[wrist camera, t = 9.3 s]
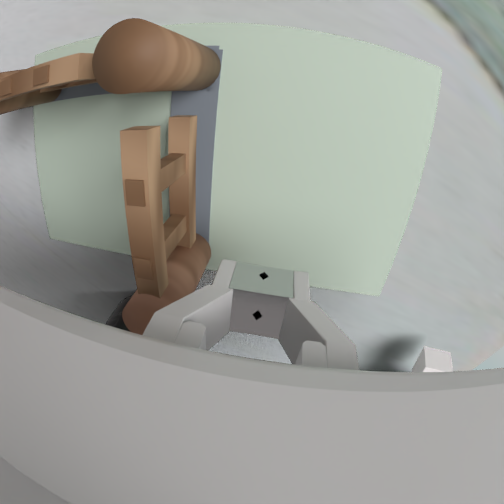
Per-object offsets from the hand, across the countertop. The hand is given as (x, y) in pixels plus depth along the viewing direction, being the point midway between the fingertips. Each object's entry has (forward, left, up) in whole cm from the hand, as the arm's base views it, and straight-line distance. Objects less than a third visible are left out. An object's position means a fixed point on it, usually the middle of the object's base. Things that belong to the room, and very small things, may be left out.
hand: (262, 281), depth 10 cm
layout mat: (-5, +3, -6) cm, 8 cm away
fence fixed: (-10, +7, -6) cm, 14 cm away
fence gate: (-4, +1, -5) cm, 7 cm away
